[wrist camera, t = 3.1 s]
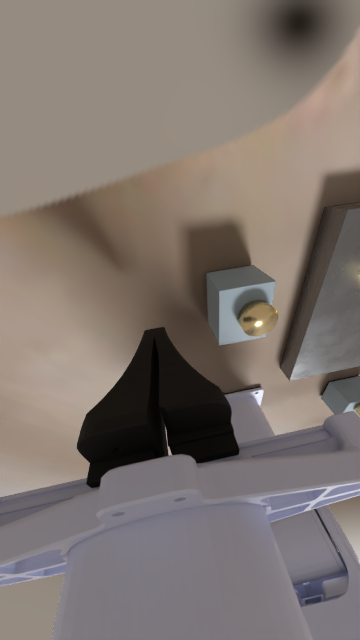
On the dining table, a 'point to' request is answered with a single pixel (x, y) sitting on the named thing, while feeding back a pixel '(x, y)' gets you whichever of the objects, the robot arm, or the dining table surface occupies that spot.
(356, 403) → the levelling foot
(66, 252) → the dining table surface
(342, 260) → the base
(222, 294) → the block with brass knob
